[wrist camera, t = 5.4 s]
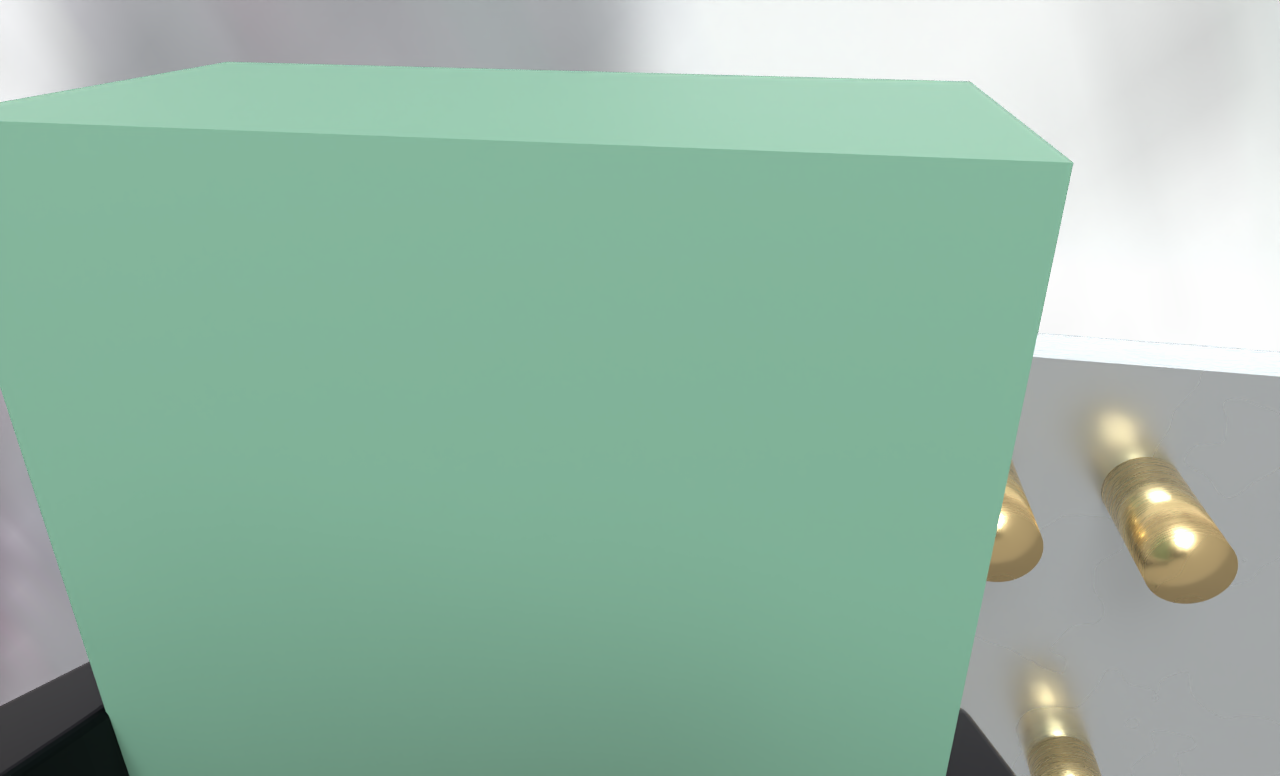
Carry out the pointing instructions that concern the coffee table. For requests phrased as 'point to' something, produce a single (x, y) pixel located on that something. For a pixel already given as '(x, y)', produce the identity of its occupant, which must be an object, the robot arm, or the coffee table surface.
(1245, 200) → the coffee table surface
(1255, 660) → the white peg board
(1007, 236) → the mint green rectangular block
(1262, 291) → the coffee table surface
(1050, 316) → the coffee table surface
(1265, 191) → the coffee table surface
